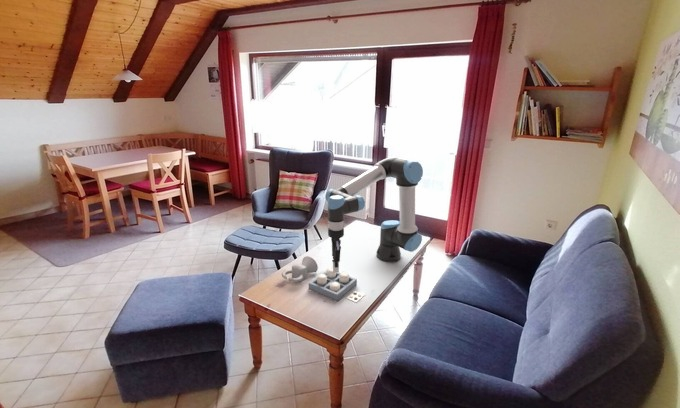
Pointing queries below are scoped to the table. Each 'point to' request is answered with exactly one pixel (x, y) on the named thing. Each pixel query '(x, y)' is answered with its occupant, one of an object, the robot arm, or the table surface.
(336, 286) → the button
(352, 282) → the button board
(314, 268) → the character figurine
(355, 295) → the card
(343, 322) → the table surface
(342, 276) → the button
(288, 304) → the table surface
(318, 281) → the button
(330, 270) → the button
